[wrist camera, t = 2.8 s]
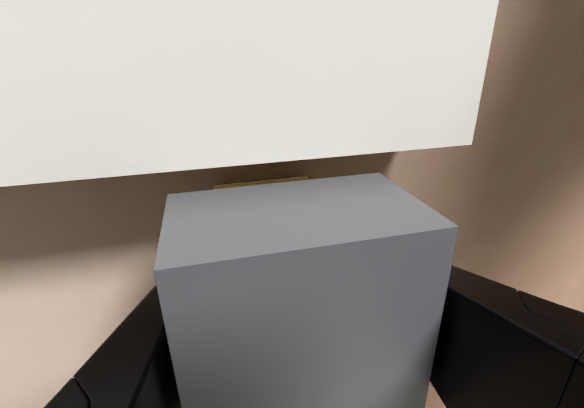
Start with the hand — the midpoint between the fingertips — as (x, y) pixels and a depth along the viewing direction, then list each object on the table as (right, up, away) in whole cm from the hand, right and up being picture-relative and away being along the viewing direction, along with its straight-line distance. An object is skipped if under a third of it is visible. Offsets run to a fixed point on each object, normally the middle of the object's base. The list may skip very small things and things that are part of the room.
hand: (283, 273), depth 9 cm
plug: (-1, +1, +3) cm, 3 cm away
